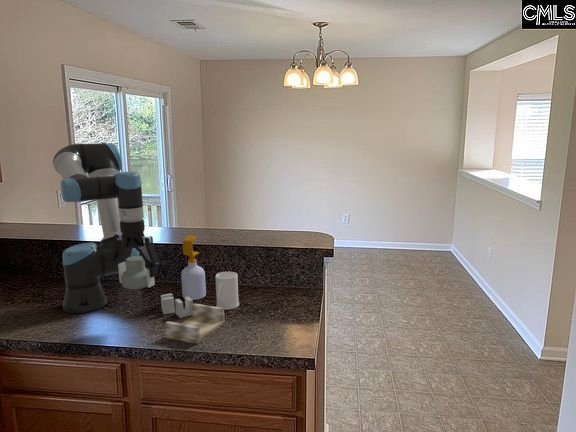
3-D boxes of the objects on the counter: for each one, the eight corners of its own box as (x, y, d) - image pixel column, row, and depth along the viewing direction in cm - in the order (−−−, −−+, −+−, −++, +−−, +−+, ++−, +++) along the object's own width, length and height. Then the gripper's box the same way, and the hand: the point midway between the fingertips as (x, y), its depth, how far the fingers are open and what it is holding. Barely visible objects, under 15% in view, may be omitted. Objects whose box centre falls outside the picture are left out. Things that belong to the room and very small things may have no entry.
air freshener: (126, 281, 150) (124, 254, 148) (151, 280, 152) (149, 252, 150) (121, 293, 140) (119, 264, 138) (148, 291, 141) (146, 262, 139)
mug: (228, 314, 155) (226, 282, 153) (207, 311, 158) (205, 280, 156) (243, 302, 166) (242, 272, 163) (223, 299, 169) (222, 270, 166)
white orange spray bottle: (210, 293, 175) (207, 234, 170) (198, 301, 167) (194, 239, 162) (190, 290, 178) (187, 232, 173) (178, 299, 170) (174, 238, 165)
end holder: (165, 337, 139) (164, 323, 138) (195, 316, 154) (194, 303, 153) (197, 344, 134) (196, 329, 133) (225, 321, 150) (224, 307, 149)
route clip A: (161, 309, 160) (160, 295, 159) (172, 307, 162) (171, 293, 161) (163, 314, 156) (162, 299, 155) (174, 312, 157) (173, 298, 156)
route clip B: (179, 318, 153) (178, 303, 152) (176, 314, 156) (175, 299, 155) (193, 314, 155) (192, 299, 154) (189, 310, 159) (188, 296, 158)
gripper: (95, 219, 142) (101, 282, 146) (153, 225, 133) (158, 292, 138) (112, 214, 148) (117, 275, 153) (168, 220, 140) (172, 284, 145)
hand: (137, 283), depth 146 cm, fingers closed on air freshener, 11 cm apart
